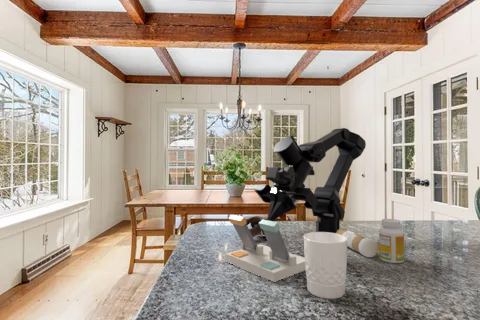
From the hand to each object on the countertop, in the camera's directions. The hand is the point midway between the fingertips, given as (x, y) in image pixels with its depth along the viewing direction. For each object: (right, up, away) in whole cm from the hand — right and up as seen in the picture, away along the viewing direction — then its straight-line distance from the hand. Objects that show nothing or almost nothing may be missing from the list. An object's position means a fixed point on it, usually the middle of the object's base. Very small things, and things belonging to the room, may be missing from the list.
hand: (269, 220), depth 74 cm
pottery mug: (-2, -9, +15) cm, 18 cm away
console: (-2, -9, -8) cm, 12 cm away
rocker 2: (+2, -6, -12) cm, 13 cm away
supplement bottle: (+29, -9, -5) cm, 31 cm away
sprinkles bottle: (+22, -7, +10) cm, 25 cm away
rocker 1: (-5, -6, -4) cm, 9 cm away
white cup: (+8, -9, -22) cm, 25 cm away
